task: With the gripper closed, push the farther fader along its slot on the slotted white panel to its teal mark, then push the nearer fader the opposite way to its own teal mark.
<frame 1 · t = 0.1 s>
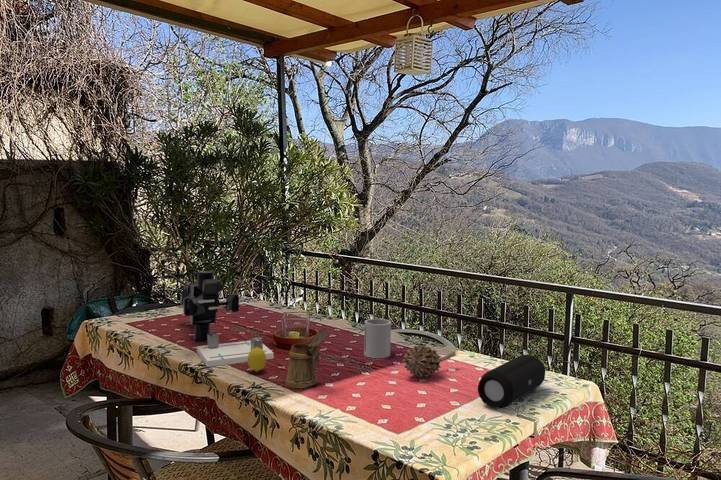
hand: (216, 309, 177), 17 cm above the table, tool horizontal, fingers open, 9 cm apart
lemon: (256, 372, 165), on the table
pine cone: (430, 374, 166), on the table
fader 1: (213, 340, 184), point 4 cm above the table, slide at -6.0 cm
slotted white panel: (234, 355, 182), on the table
fader 2: (256, 345, 179), point 4 cm above the table, slide at 6.0 cm
portable speaker: (512, 398, 148), on the table
cup: (377, 356, 185), on the table
wooden mug: (306, 385, 155), on the table
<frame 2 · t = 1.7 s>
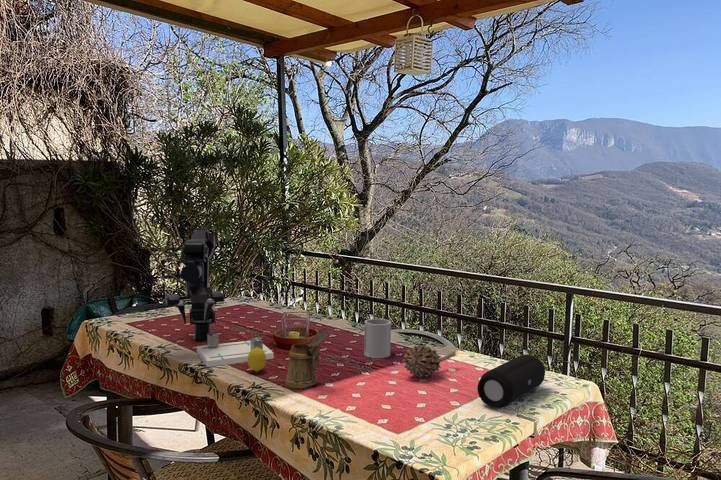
hand: (195, 323, 181), 11 cm above the table, tool pointing down, fingers open, 6 cm apart
nothing on the table moved.
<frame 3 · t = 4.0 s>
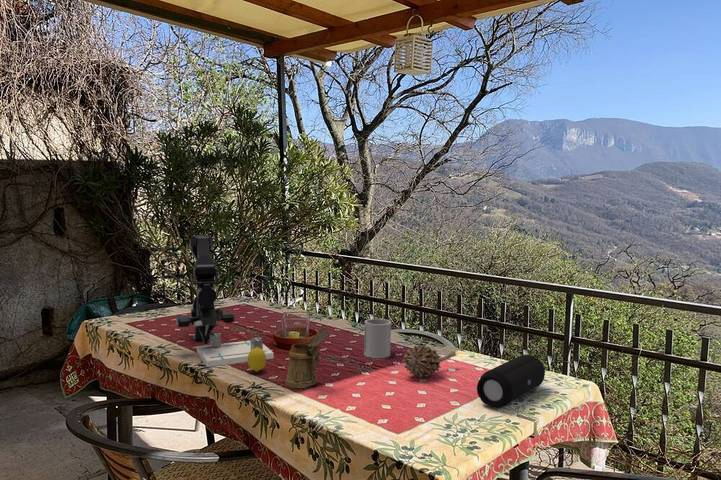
hand: (205, 343, 183), 3 cm above the table, tool pointing down, fingers closed
fader 1: (215, 339, 184), point 4 cm above the table, slide at -5.2 cm, touching gripper
everything else where it was.
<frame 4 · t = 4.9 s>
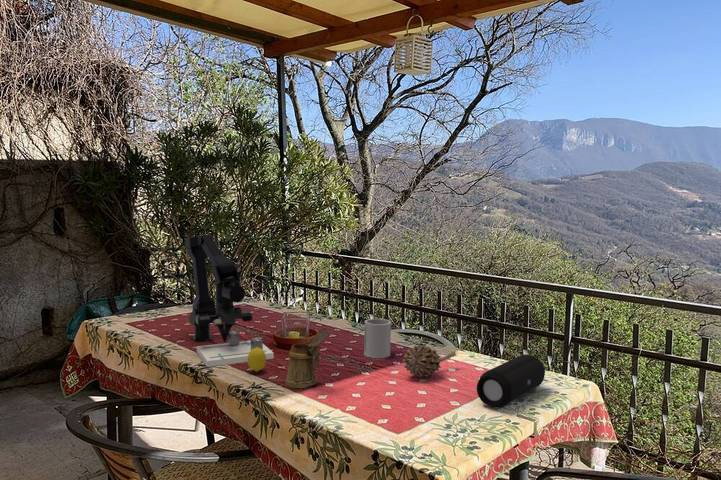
hand: (224, 341, 186), 4 cm above the table, tool pointing down, fingers closed
fader 1: (233, 337, 187), point 4 cm above the table, slide at 1.2 cm, touching gripper
everything else where it was.
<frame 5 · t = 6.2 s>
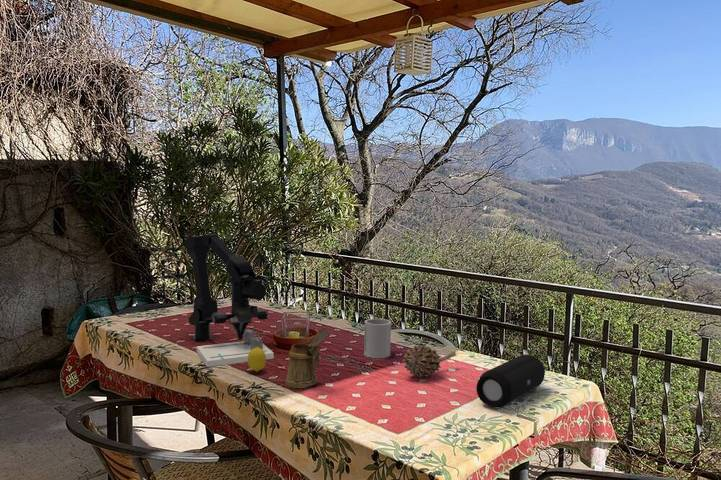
hand: (239, 339, 188), 4 cm above the table, tool pointing down, fingers closed
fader 1: (248, 336, 190), point 4 cm above the table, slide at 6.7 cm, touching gripper
everything else where it was.
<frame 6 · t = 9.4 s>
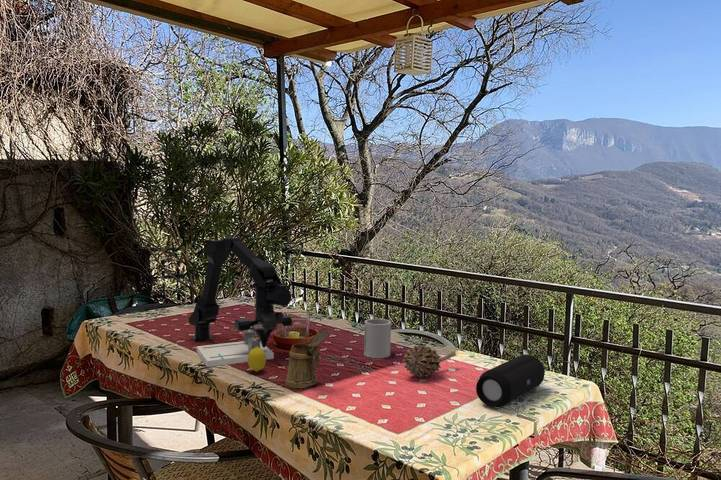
hand: (263, 347, 180), 3 cm above the table, tool pointing down, fingers closed
fader 1: (249, 336, 190), point 4 cm above the table, slide at 6.7 cm
fader 2: (254, 345, 179), point 4 cm above the table, slide at 5.2 cm, touching gripper
everything else where it was.
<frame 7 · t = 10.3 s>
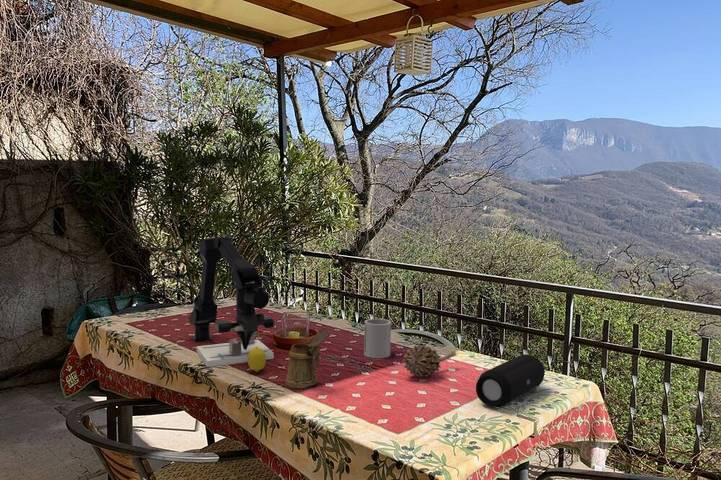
hand: (245, 349, 177), 3 cm above the table, tool pointing down, fingers closed
fader 2: (235, 347, 176), point 4 cm above the table, slide at -1.3 cm, touching gripper
everything else where it was.
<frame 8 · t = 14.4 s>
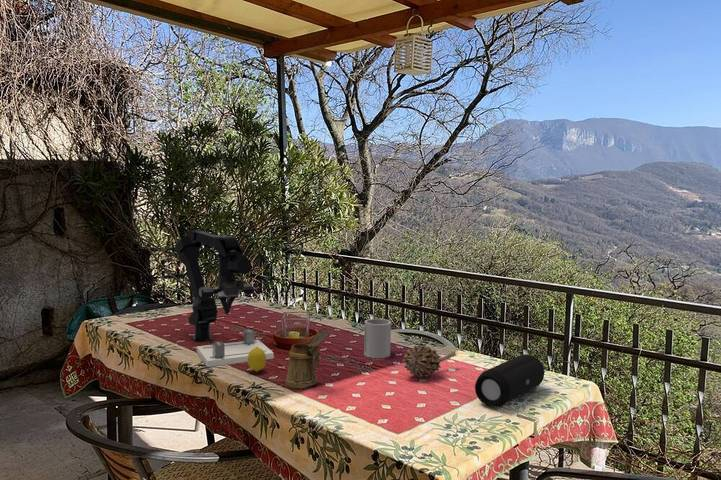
hand: (226, 314, 191), 12 cm above the table, tool pointing down, fingers closed
fader 2: (218, 349, 173), point 4 cm above the table, slide at -6.7 cm
everything else where it was.
at the end: fader 1 slide at 6.7 cm; fader 2 slide at -6.7 cm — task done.
